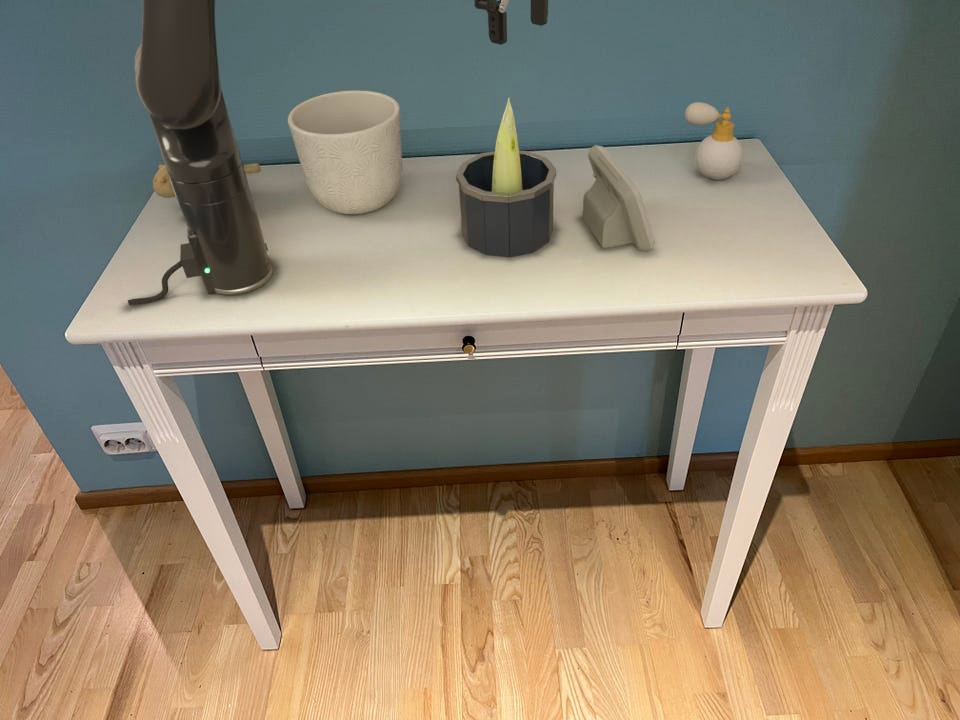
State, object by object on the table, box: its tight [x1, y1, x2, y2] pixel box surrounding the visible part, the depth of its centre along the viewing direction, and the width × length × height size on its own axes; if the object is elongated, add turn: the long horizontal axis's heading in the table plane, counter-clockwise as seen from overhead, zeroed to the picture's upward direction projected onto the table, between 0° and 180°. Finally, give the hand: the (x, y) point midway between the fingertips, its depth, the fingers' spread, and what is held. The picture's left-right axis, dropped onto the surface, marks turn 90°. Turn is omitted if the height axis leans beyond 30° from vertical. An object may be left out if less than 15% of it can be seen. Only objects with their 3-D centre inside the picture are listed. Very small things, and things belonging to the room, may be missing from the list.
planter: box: [287, 89, 403, 215], centre depth 116 cm, size 17×17×15 cm
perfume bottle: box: [684, 101, 744, 181], centre depth 118 cm, size 8×10×12 cm
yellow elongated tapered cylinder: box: [492, 96, 522, 193], centre depth 105 cm, size 6×5×20 cm
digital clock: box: [581, 144, 655, 252], centre depth 108 cm, size 16×9×11 cm, turn 2°
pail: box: [455, 150, 557, 258], centre depth 109 cm, size 14×14×10 cm
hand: (519, 33), depth 94 cm, fingers open, 8 cm apart
